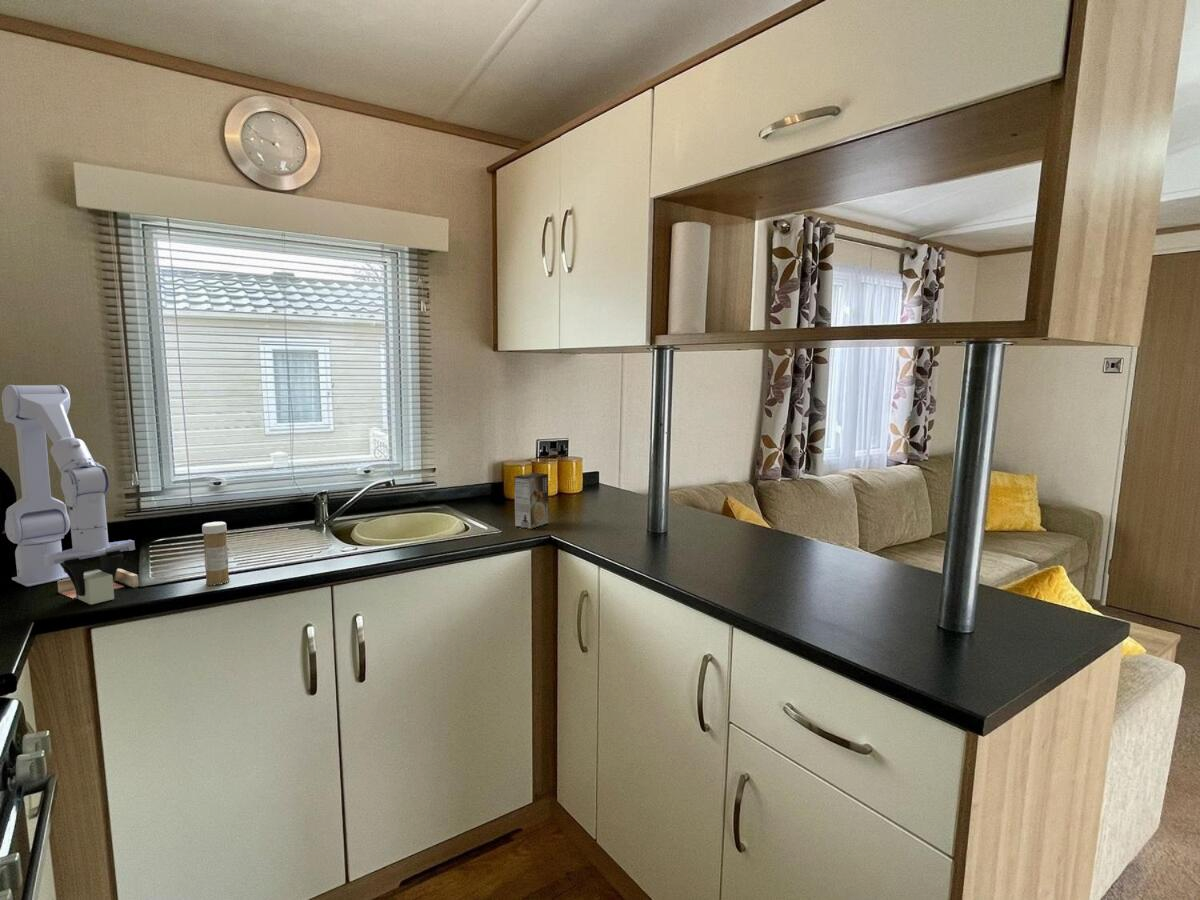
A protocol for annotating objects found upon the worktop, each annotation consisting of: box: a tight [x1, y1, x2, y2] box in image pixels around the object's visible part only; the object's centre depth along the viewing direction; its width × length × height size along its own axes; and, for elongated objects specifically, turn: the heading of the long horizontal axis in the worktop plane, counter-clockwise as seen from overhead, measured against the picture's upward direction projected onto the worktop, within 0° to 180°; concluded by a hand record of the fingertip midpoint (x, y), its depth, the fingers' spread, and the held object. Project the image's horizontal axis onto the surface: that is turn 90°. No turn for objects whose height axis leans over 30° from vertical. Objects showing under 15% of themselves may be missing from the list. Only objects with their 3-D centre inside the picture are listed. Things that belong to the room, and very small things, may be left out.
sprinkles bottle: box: [201, 521, 230, 586], centre depth 139 cm, size 5×5×13 cm
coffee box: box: [513, 472, 550, 528], centre depth 194 cm, size 9×6×16 cm
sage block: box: [75, 568, 115, 605], centre depth 129 cm, size 4×7×5 cm, turn 58°
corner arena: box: [56, 567, 140, 600], centre depth 135 cm, size 10×11×2 cm
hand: (94, 591), depth 129 cm, fingers closed on sage block, 4 cm apart
